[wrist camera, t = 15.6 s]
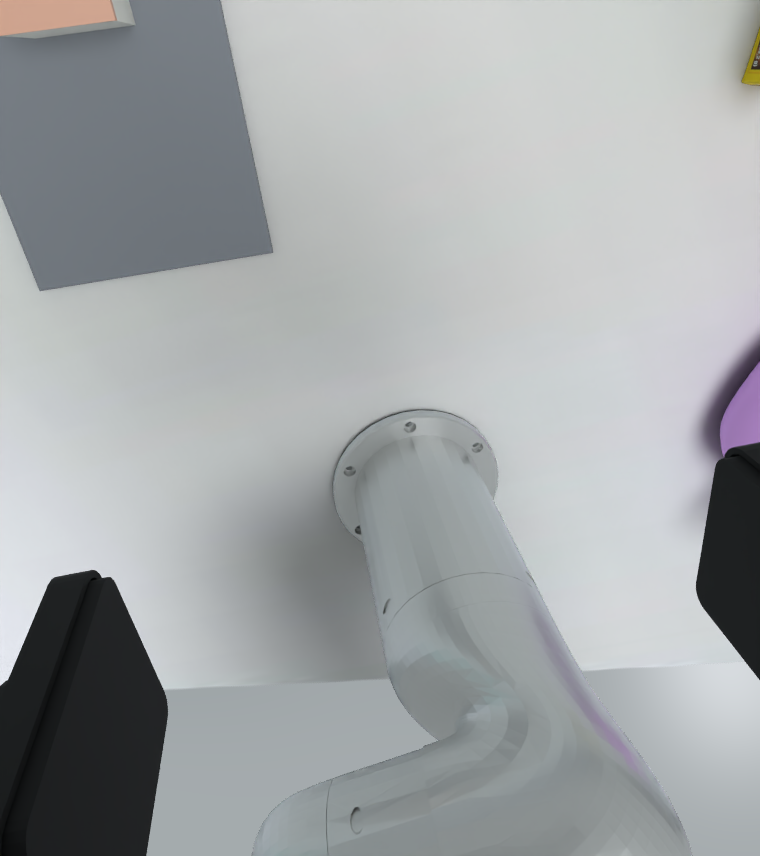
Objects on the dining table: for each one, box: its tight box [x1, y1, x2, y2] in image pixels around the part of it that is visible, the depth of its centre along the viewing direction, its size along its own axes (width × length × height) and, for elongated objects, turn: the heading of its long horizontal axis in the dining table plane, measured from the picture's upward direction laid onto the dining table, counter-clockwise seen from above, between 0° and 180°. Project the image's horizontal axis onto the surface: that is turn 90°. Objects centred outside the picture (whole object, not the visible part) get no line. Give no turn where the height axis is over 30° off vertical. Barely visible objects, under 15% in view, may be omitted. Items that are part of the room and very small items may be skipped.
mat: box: [0, 0, 273, 291], centre depth 33 cm, size 24×14×1 cm, turn 7°
